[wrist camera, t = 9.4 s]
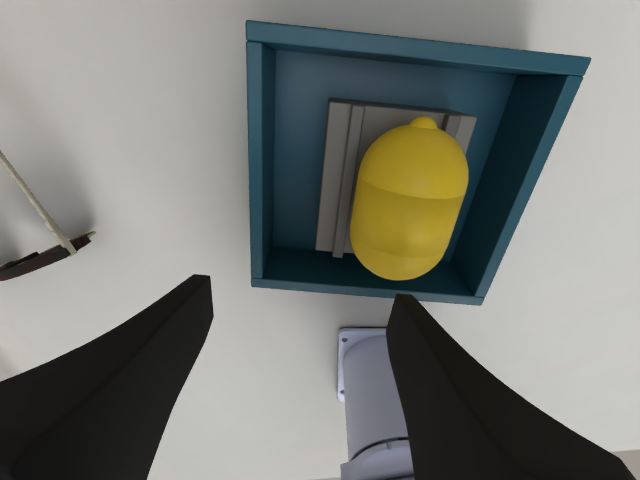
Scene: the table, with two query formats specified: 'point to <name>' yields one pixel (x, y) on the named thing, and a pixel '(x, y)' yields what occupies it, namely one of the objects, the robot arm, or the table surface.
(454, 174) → the lemon
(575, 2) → the table surface
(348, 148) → the grey block
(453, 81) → the crate
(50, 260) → the sunglasses
